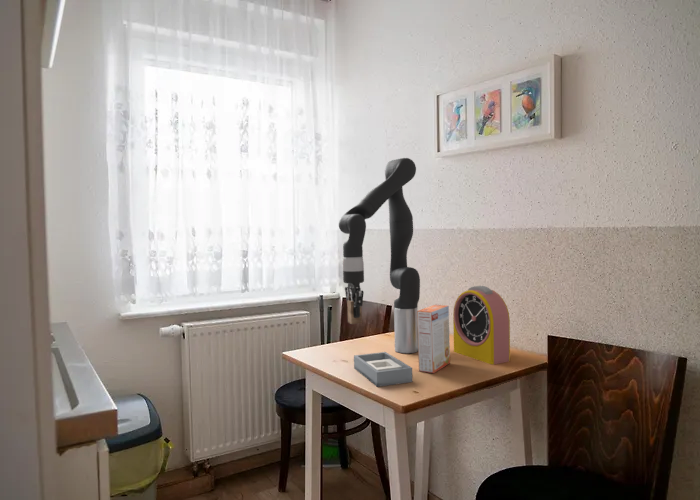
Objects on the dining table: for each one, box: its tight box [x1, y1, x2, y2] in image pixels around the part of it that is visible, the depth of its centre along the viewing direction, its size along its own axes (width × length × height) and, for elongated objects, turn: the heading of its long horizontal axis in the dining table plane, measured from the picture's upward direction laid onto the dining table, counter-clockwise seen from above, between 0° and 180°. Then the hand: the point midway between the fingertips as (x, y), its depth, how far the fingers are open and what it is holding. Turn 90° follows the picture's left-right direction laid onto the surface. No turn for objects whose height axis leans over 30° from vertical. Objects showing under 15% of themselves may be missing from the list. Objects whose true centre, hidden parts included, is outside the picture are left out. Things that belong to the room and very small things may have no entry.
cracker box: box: [417, 304, 451, 374], centre depth 163 cm, size 14×6×21 cm, turn 145°
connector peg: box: [346, 300, 363, 325], centre depth 171 cm, size 4×4×8 cm
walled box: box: [353, 351, 413, 388], centre depth 156 cm, size 12×21×4 cm, turn 19°
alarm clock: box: [452, 285, 511, 365], centre depth 176 cm, size 21×9×26 cm, turn 27°
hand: (354, 316), depth 171 cm, fingers closed on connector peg, 4 cm apart
